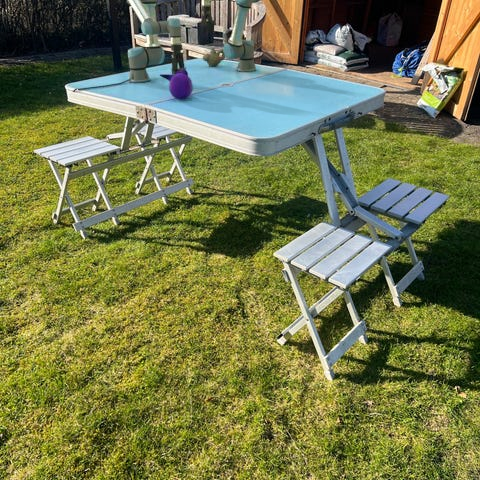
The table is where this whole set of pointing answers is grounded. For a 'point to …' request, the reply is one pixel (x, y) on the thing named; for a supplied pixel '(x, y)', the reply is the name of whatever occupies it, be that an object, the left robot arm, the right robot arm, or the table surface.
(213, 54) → the teapot
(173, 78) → the toy
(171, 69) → the block
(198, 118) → the table surface
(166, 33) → the left robot arm
